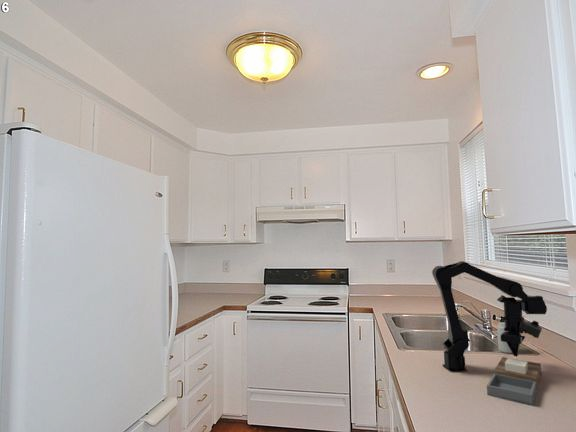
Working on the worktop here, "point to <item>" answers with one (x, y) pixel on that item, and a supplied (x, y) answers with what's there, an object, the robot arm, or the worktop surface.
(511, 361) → the tile
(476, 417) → the worktop surface
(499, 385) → the box
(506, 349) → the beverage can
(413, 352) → the worktop surface
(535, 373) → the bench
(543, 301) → the robot arm
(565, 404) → the worktop surface
